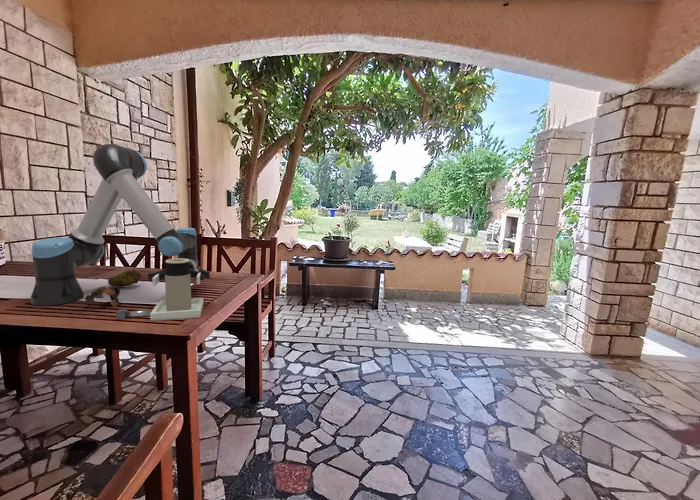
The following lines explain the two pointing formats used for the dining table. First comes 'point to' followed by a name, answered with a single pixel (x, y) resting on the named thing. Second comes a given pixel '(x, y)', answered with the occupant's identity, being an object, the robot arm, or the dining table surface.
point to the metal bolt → (131, 313)
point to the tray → (163, 314)
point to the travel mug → (178, 285)
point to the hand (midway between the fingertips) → (176, 281)
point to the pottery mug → (99, 294)
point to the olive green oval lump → (125, 278)
